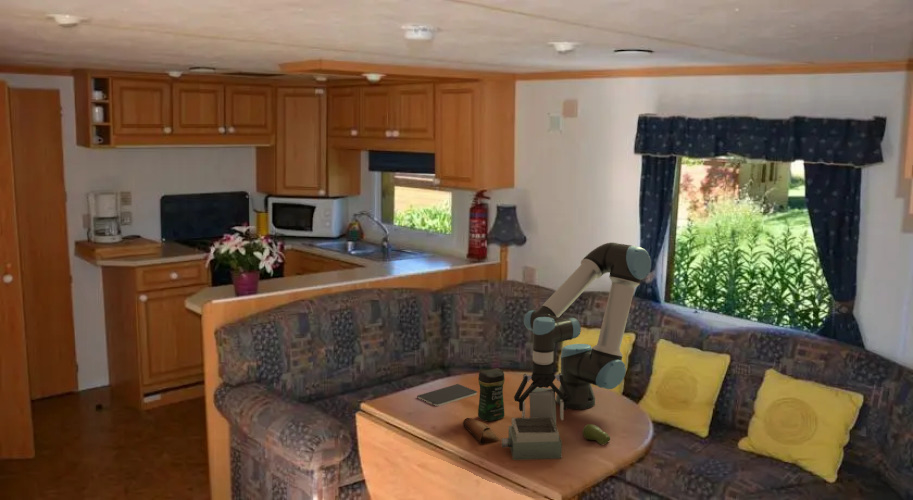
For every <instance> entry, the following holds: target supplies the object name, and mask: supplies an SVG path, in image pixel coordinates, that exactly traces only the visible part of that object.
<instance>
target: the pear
mask: <svg viewBox="0 0 913 500" xmlns="http://www.w3.org/2000/svg"><path fill="white" fill-rule="evenodd" d="M582 436H583V437H584V438H585V439H586V440H588V439H589V441H597V443H598V444H599V445H601V444H605V443H607V442H608V441H609V442H610V440H611V436H609V433H607V432H605V431H604V430H603V429H601V428H600V427H599V426H598V425H595V424H592V423H589V424H586V425H584V427H583V429H582ZM607 444H608V443H607ZM605 445H606V444H605Z"/></svg>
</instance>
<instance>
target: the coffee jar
mask: <svg viewBox="0 0 913 500" xmlns="http://www.w3.org/2000/svg"><path fill="white" fill-rule="evenodd" d="M477 379H478V385H479V396H478V397H479V398H478V399H479V400H478V408H477V409H478V411H477V416H478V418H479V419H480V420H482V421H486V422H493V421H497V420H501V419H503V418H504V417H505V404H504V384H505V381H506V380H505V372H504V370H502V369H500V368H499V367H498V368H497V367H496V368H493V369H488V370H481V371H479V372H478V378H477Z"/></svg>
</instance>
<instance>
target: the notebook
mask: <svg viewBox="0 0 913 500" xmlns="http://www.w3.org/2000/svg"><path fill="white" fill-rule="evenodd" d="M477 393H478V391H476V390H475V389H471V388H470V387H467V386H464V385H461V384H459V383H457V384H452V385H449V386H446V387H443V388H439V389H435V390H431V391H429V392H424V393H421V394H419V395H416V399H419V400H421V399H422V400H421V401H423V400H424V401H423V402H425V401H426V402H425V403H427V404H430V405H432V406H434V405H435V407H440V406H441V407H442V406H443V405H447V404H450V402H451V403H453V401H454V402H458V401H459V400H463V399H466V398H470V397H473V396H476V395H477Z"/></svg>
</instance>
